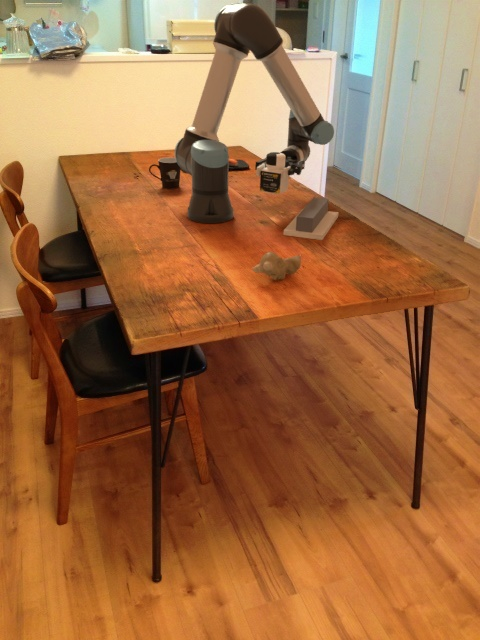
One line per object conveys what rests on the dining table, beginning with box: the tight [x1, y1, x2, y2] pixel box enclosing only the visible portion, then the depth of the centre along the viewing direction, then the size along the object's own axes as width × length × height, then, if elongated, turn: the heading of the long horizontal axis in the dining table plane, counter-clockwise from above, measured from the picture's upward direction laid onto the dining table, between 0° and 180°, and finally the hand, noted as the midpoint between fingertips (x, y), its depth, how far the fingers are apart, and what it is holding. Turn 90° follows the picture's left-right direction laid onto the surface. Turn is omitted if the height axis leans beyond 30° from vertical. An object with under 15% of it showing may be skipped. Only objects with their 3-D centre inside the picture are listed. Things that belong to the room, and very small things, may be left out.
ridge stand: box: [283, 196, 339, 241], centre depth 187 cm, size 24×12×6 cm, turn 160°
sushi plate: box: [229, 158, 250, 170], centre depth 261 cm, size 29×30×4 cm
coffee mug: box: [148, 157, 182, 190], centre depth 225 cm, size 12×9×10 cm
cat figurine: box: [251, 251, 302, 281], centre depth 150 cm, size 8×7×12 cm
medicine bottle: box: [259, 151, 290, 195], centre depth 190 cm, size 7×7×12 cm
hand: (270, 173), depth 186 cm, fingers closed on medicine bottle, 8 cm apart
